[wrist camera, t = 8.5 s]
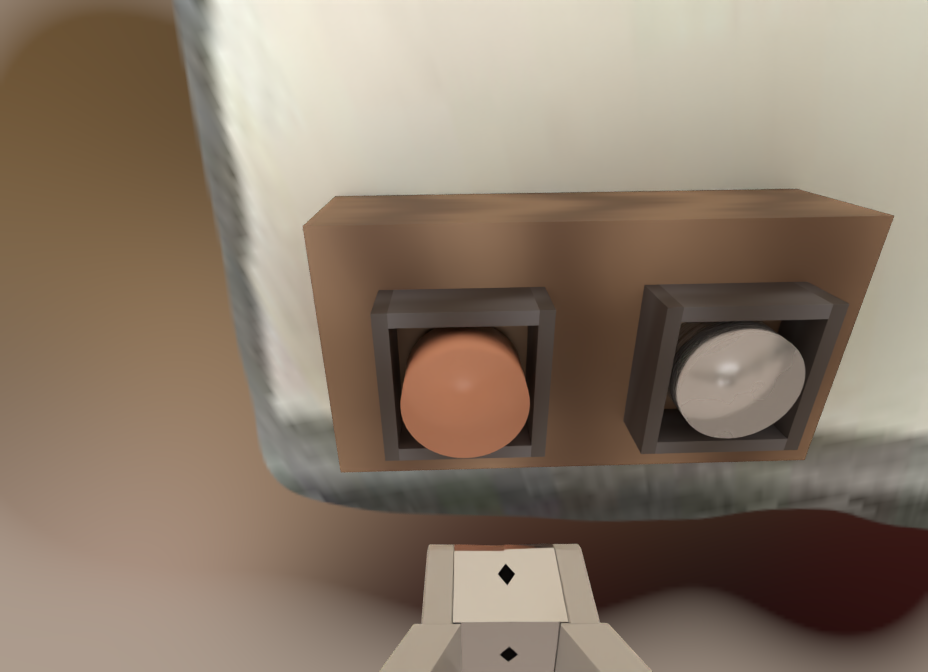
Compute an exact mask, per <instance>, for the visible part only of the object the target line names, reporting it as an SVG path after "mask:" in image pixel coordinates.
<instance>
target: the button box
mask: <svg viewBox="0 0 928 672" xmlns="http://www.w3.org/2000/svg"><path fill="white" fill-rule="evenodd" d="M893 218H894V216H893V215H890V214H886V213H882V212H879V211H875V210H872V209H868V208H864V207H861V206H857V205H853V204H850V203H846V202H843V201H839V200H835V199H832V198H828V197H824V196H821V195H817V194H814V193H810V192H806V191H803V190H799V189H761V190H700V191H638V192H577V193H516V194H454V195H393V196H335V197H334V198H333V199H332V200H331V201H330V202H329V203H328V204H326V205H325V206H324V207H323V208H322V209H321V210H320V211H319V212H318V213H317V214H315V215H314V216H313V217H312V218H311V219H310V220H309V221H308V222H307V223H306V224H305V225H303V231H304V238H305V244H306V250H307V257H308V263H309V270H310V276H311V283H312V289H313V296H314V302H315V309H316V315H317V322H318V328H319V335H320V341H321V347H322V354H323V360H324V367H325V373H326V380H327V386H328V393H329V399H330V406H331V412H332V419H333V425H334V432H335V438H336V445H337V451H338V457H339V464H340V470H341V472H373V471H410V470H447V469H483V468H520V467H557V466H594V465H631V464H668V463H705V462H742V461H779V460H805V457H806V454H807V451H808V449H809V446H810V443H811V441H812V438H813V435H814V432H815V430H816V427H817V424H818V422H819V419H820V416H821V413H822V411H823V408H824V405H825V403H826V400H827V397H828V394H829V392H830V389H831V386H832V384H833V381H834V378H835V375H836V373H837V370H838V367H839V365H840V362H841V359H842V356H843V354H844V351H845V348H846V346H847V343H848V340H849V337H850V335H851V332H852V329H853V327H854V324H855V321H856V318H857V316H858V313H859V310H860V308H861V305H862V302H863V299H864V297H865V294H866V291H867V289H868V286H869V283H870V280H871V278H872V275H873V272H874V269H875V267H876V264H877V261H878V259H879V256H880V253H881V250H882V248H883V245H884V242H885V240H886V237H887V234H888V231H889V229H890V226H891V223H892V221H893ZM720 321H762V322H763V323H764V324H766V325H767V326H768V327H770V328H771V329H772V330H774V331H775V332H777V333H778V334H779V335H781V336H782V337H783V338H785V339H786V340H787V341H789V342H790V343H792V344H793V345H794V346H795V347H796V348H797V349H798V351H799V352H800V354H801V356H802V358H803V360H804V365H805V381H804V384H803V388H802V390H801V393H800V395H799V397H798V398H797V400H796V402H795V403H794V404H793V406H792V407H791V408H790V409H789V410H788V412H787V413H786V414H785V415H783V416H782V417H781V418H780V419H779V420H777V421H776V422H775V423H773V424H772V425H770V426H768V427H767V428H765V429H763V430H761V431H759V432H756V433H753V434H751V435H747V436H743V437H738V438H716V437H711V436H707V435H705V434H702V433H700V432H699V431H697V430H695V429H694V428H693V427H692V426H691V425H690V424H689V423H688V422H687V421H686V419H685V418H684V417H683V415H682V414H681V412H680V411H679V410H678V408H677V407H676V406H675V404H674V403H673V401H672V400H671V399H670V397H669V396H668V394H667V391H668V386H669V381H670V376H671V371H672V366H673V361H674V356H675V351H676V346H677V341H678V336H679V331H680V326H681V324H682V323H683V322H720ZM488 326H490V327H492V328H494V329H496V330H497V331H499V332H501V333H502V334H503V335H504V336H506V337H507V338H508V339H509V340H510V342H511V343H512V344H513V346H514V347H515V349H516V351H517V353H518V355H519V358H520V361H521V365H522V369H523V373H524V376H525V380H526V384H527V388H528V392H529V397H530V408H529V414H528V417H527V420H526V422H525V425H524V426H523V428H522V430H521V431H520V432H519V434H518V435H517V436H516V437H515V438H514V439H513V440H512V441H511V442H510V443H508V444H507V445H506V446H504V447H503V448H501V449H499V450H497V451H495V452H492V453H490V454H487V455H484V456H479V457H473V458H455V457H449V456H444V455H441V454H438V453H435V452H433V451H431V450H429V449H427V448H426V447H424V446H423V445H421V444H420V443H419V442H418V441H417V440H416V439H415V438H414V437H413V436H412V435H411V434H410V432H409V431H408V429H407V428H406V426H405V424H404V421H403V418H402V415H401V395H402V389H403V382H404V376H405V370H406V363H407V360H408V356H409V354H410V352H411V350H412V348H413V347H414V346H415V344H416V343H417V342H418V341H419V340H420V338H422V337H423V336H424V335H425V334H426V333H428V332H429V331H431V330H433V329H435V328H441V327H488Z"/></svg>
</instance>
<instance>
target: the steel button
mask: <svg viewBox="0 0 928 672" xmlns="http://www.w3.org/2000/svg"><path fill="white" fill-rule="evenodd" d="M804 381H805V365H804V360H803V358H802V356H801V354H800V352H799V351H798V349H797V348H796V347H795V346H794V345H793V344H792V343H790V342H789V341H787V340H786V339H785V338H783V337H782V336H781V335H779V334H778V333H777V332H775V331H774V330H772V329H771V328H770V327H768V326H767V325H766V324H764V323H763V322H762V321H720V322H683V323H682V324H681V326H680V331H679V336H678V341H677V346H676V351H675V356H674V361H673V366H672V371H671V376H670V381H669V386H668V391H667V394H668V396H669V397H670V399H671V400H672V401H673V403H674V404H675V406H676V407H677V408H678V410H679V411H680V412H681V414H682V415H683V417H684V418H685V419H686V421H687V422H688V423H689V424H690V425H691V426H692V427H693V428H694V429H695V430H697V431H699V432H700V433H702V434H705V435H707V436H711V437H716V438H738V437H743V436H747V435H751V434H753V433H756V432H759V431H761V430H763V429H765V428H767V427H768V426H770V425H772V424H773V423H775V422H776V421H777V420H779V419H780V418H781V417H782V416H783V415H785V414H786V413H787V412H788V410H789V409H790V408H791V407H792V406H793V404H794V403H795V402H796V400H797V398H798V397H799V395H800V393H801V390H802V388H803V384H804Z"/></svg>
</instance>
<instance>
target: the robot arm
mask: <svg viewBox="0 0 928 672" xmlns="http://www.w3.org/2000/svg"><path fill="white" fill-rule="evenodd" d="M379 672H653V671H652V670H651V669H650V668H649V667H648V666H647V665H646V664H645V663H644V662H643V661H642V659H641V658H640V657H639V656H638V655H637V654H636V653H635V652H634V651H633V650H632V649H631V648H630V646H629V645H628V644H627V643H626V642H625V641H624V640H623V639H622V638H621V637H620V636H619V635H618V634H617V633H616V632H615V630H614V629H613V628H612V627H611V626H610V625H609V624H608V623H600V621H599V617H598V613H597V609H596V605H595V601H594V598H593V594H592V590H591V586H590V582H589V578H588V574H587V570H586V567H585V562H584V558H583V555H582V550H581V548H580V546H579V545H578V544H553V545H552V544H512V545H503V546H497V545H455V547H454V545H429V547H428V551H427V561H426V573H425V586H424V599H423V611H422V623H421V624H414V625H413V626H412V627H411V628H410V630H409V631H408V633H407V634H406V635H405V637H404V638H403V639H402V641H401V642H400V644H399V645H398V646H397V648H396V649H395V650H394V652H393V653H392V654H391V656H390V657H389V659H388V660H387V661H386V663H385V664H384V666H383V667H382V668H381V669H380V671H379Z"/></svg>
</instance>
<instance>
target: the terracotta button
mask: <svg viewBox="0 0 928 672" xmlns="http://www.w3.org/2000/svg"><path fill="white" fill-rule="evenodd" d="M529 408H530V397H529V392H528V388H527V384H526V380H525V376H524V373H523V369H522V365H521V361H520V358H519V355H518V353H517V351H516V349H515V347H514V346H513V344H512V343H511V342H510V340H509V339H508V338H507V337H506V336H504V335H503V334H502V333H501V332H499V331H497V330H496V329H494V328H492V327H490V326H488V327H441V328H435V329H433V330H431V331H429V332H428V333H426V334H425V335H424V336H423V337H422V338H420V340H419V341H418V342H417V343H416V344H415V346H414V347H413V348H412V350H411V352H410V354H409V356H408V360H407V363H406V370H405V376H404V382H403V389H402V395H401V415H402V418H403V421H404V424H405V426H406V428H407V429H408V431H409V432H410V434H411V435H412V436H413V437H414V438H415V439H416V440H417V441H418V442H419V443H420V444H421V445H423V446H424V447H426V448H427V449H429V450H431V451H433V452H435V453H438V454H441V455H444V456H449V457H455V458H473V457H479V456H484V455H487V454H490V453H492V452H495V451H497V450H499V449H501V448H503V447H504V446H506V445H507V444H508V443H510V442H511V441H512V440H513V439H514V438H515V437H516V436H517V435H518V434H519V432H520V431H521V430H522V428H523V426H524V425H525V422H526V420H527V417H528V414H529Z"/></svg>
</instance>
